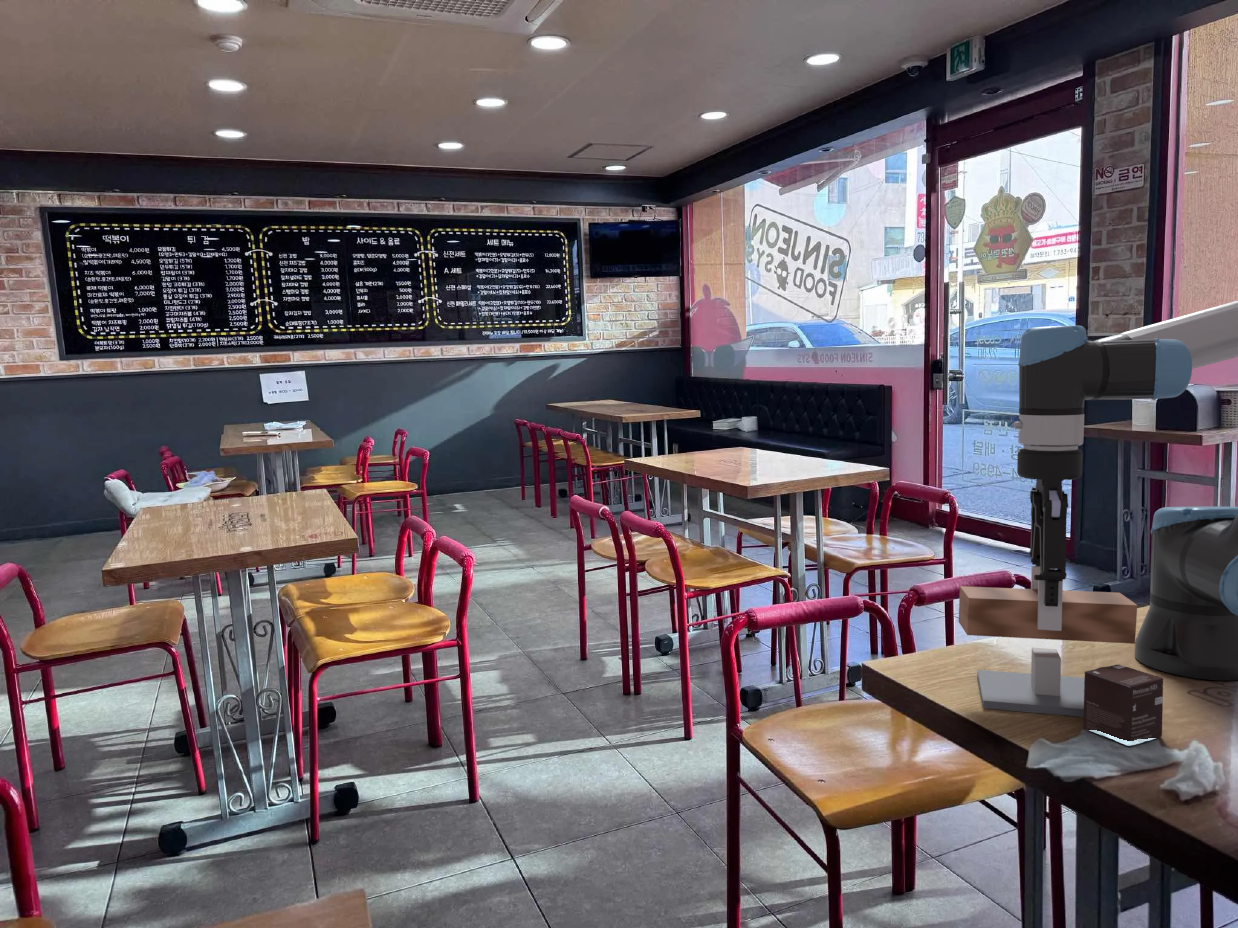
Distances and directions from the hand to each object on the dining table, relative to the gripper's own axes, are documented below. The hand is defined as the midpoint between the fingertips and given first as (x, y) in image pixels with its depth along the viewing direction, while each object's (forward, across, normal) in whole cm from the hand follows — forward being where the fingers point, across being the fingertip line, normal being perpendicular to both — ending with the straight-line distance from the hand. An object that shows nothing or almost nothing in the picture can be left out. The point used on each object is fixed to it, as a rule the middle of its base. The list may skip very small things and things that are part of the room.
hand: (1045, 621), depth 113 cm
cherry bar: (+1, 0, 0) cm, 1 cm away
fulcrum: (+10, 0, 0) cm, 10 cm away
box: (+11, +10, +7) cm, 16 cm away
